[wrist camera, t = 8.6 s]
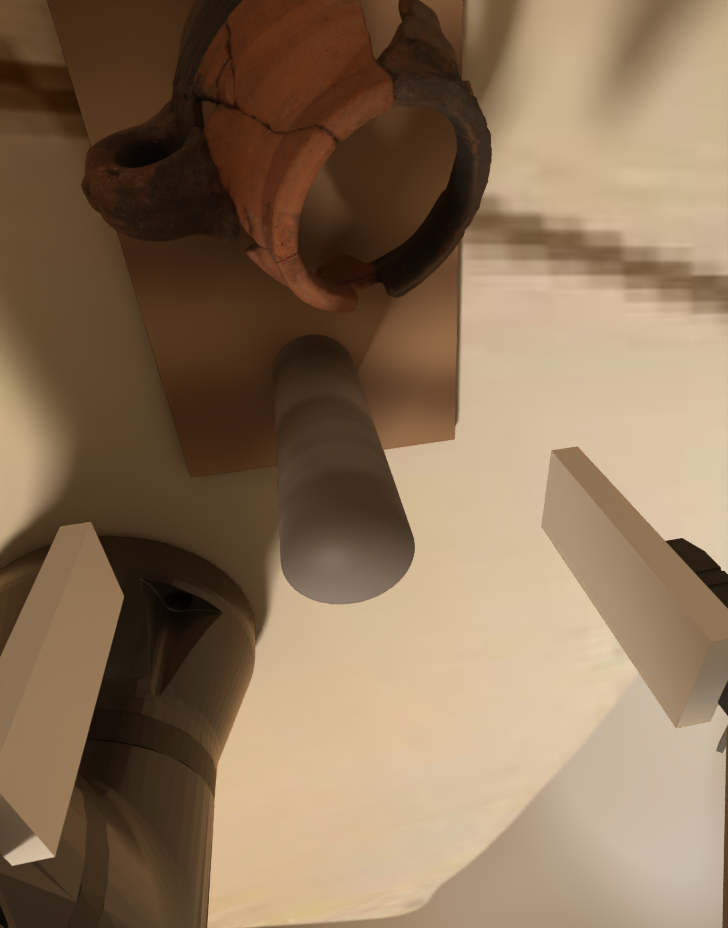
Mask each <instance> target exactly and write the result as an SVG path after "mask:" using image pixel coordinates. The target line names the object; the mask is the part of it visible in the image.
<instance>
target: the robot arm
mask: <svg viewBox="0 0 728 928" xmlns="http://www.w3.org/2000/svg"><path fill="white" fill-rule="evenodd" d="M541 527H542V528H543V530H544V531H545V533H546V534H547V536H548V537H549V539H550V540H551V542H552V543H553V545H554V546H555V548H556V549H557V551H558V552H559V554H560V555H561V557H562V558H563V560H564V561H565V563H566V564H567V566H568V567H569V569H570V570H571V572H572V573H573V575H574V576H575V578H576V579H577V581H578V582H579V584H580V585H581V587H582V588H583V590H584V591H585V593H586V594H587V596H588V597H589V599H590V600H591V602H592V603H593V605H594V606H595V608H596V609H597V611H598V612H599V614H600V615H601V617H602V618H603V620H604V621H605V623H606V624H607V626H608V627H609V629H610V630H611V632H612V633H613V635H614V636H615V638H616V639H617V641H618V642H619V644H620V645H621V647H622V648H623V650H624V651H625V653H626V654H627V656H628V657H629V659H630V660H631V662H632V663H633V665H634V666H635V668H636V669H637V671H638V672H639V674H640V675H641V677H642V678H643V680H644V681H645V682H646V684H647V686H648V687H649V688H650V690H651V692H652V693H653V695H654V696H655V697H656V699H657V700H658V702H659V703H660V705H661V706H662V708H663V710H664V711H665V712H666V714H667V715H668V717H669V718H670V720H671V721H672V723H673V724H674V726H675V727H676V728H681V727H685V726H690V725H695V724H700V723H705V722H710V721H711V719H712V717H713V715H714V712H715V710H716V708H717V706H718V704H719V705H720V706H721V708H722V709H723V710H724V712H725V713H726V714H727V715H728V574H727V573H726V572H725V571H721V567H720V566H719V565H718V564H717V563H716V562H715V561H714V560H713V559H712V558H711V557H710V556H709V555H708V554H707V553H706V552H705V551H703V550H702V549H700V548H698V547H697V546H695V545H693V544H691V543H690V542H688V541H686V540H685V539H683V538H680V539H674V540H669V541H665V540H664V539H663V538H662V537H661V536H660V535H659V534H658V533H657V532H656V531H655V530H654V529H653V527H652V526H651V525H650V524H649V523H648V522H647V521H646V520H645V519H644V518H643V517H642V516H641V515H640V513H639V512H638V511H637V510H636V509H635V508H634V507H633V506H632V505H631V504H630V503H629V502H628V500H627V499H626V498H625V497H624V496H623V495H622V494H621V493H620V492H619V491H618V490H617V489H616V488H615V486H614V485H613V484H612V483H611V482H610V481H609V480H608V479H607V478H606V477H605V476H604V475H603V473H602V472H601V471H600V470H599V469H598V468H597V467H596V466H595V465H594V464H593V463H592V462H591V460H590V459H589V458H588V457H587V456H586V455H585V454H584V453H583V452H582V451H581V450H580V449H579V448H578V447H571V448H565V449H558V450H552V451H551V458H550V465H549V473H548V480H547V488H546V495H545V503H544V511H543V518H542V526H541ZM255 632H256V628H255V620H254V615H253V612H252V609H251V607H250V605H249V602H248V601H247V599H246V597H245V596H244V594H243V593H242V591H241V590H240V589H239V588H238V586H237V585H236V584H235V583H234V582H233V581H232V580H231V579H230V578H229V577H228V576H227V575H225V574H224V573H223V572H222V571H220V570H219V569H218V568H216V567H215V566H213V565H212V564H210V563H209V562H207V561H205V560H203V559H201V558H200V557H198V556H195V555H193V554H191V553H189V552H186V551H184V550H181V549H179V548H175V547H172V546H169V545H166V544H162V543H158V542H153V541H148V540H142V539H136V538H125V537H97V534H96V532H95V530H94V528H93V525H92V523H91V522H86V523H79V524H73V525H67V526H60V528H59V530H58V532H57V534H56V537H55V539H54V541H53V543H52V545H49V546H46V547H43V548H40V549H38V550H35V551H33V552H31V553H29V554H26V555H24V556H22V557H21V558H19V559H17V560H15V561H14V562H12V563H11V564H9V565H8V566H7V567H5V568H4V569H3V570H2V571H0V928H207V921H208V904H209V887H210V871H211V854H212V837H213V821H214V799H215V785H216V775H217V765H218V761H219V759H220V756H221V754H222V751H223V749H224V746H225V744H226V741H227V739H228V736H229V734H230V731H231V728H232V726H233V723H234V721H235V718H236V716H237V713H238V711H239V708H240V706H241V703H242V701H243V698H244V696H245V693H246V691H247V688H248V686H249V683H250V680H251V678H252V674H253V669H254V664H255ZM725 747H726V788H725V834H724V882H723V886H724V887H723V928H728V726H727V728H726V730H725V732H724V734H723V736H722V738H721V740H720V742H719V745H718V747H717V751H718V752H721V753H723V751H724V749H725Z"/></svg>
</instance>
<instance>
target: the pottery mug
mask: <svg viewBox="0 0 728 928" xmlns="http://www.w3.org/2000/svg"><path fill="white" fill-rule="evenodd" d="M398 8H399V13H400V17H401V20H402V22H401V23H400V24H399V26H398V27H397V30H396V32H395V35H394V37H393V39H392V40H391V42H390V44H389V46H388V47H387V48H385V49H384V51H383V52H382V54H381V55H380V56H379V58H378V59H375V57H374V55H373V52H372V43H371V37H370V34H369V31H368V30H367V27H366V22H365V17H364V13H363V10H362V7H361V4H360V0H196V2H195V3H194V5H193V7H192V9H191V11H190V13H189V15H188V17H187V20H186V22H185V25H184V28H183V31H182V35H181V40H180V48H179V53H178V63H177V67H176V70H175V76H174V80H173V83H172V86H173V92H172V99H171V100H170V101H169V102H167V103H166V104H165V105H164V107H163V108H162V109H161V110H160V111H159V112H158V113H157V114H156V115H155V116H153V117H152V118H150V119H149V120H148V121H146V122H144V123H143V124H141V125H137V126H133V127H130V128H127V129H125V130H121V131H118V132H116V133H113V134H110V135H108V136H107V137H105V138H103V139H102V140H100V141H98V142H97V143H95V144H94V145H93V146H92V147H91V148H90V149H89V151H88V153H87V156H86V161H85V176H84V178H83V180H82V184H81V186H82V189H83V192H84V194H85V196H86V198H87V200H88V201H89V203H90V205H91V206H92V207H93V208H94V209H95V210H96V211H98V212H99V213H100V214H101V215H102V217H103V219H104V220H105V221H106V222H107V223H108V224H109V225H110V226H112V227H113V228H115V229H116V230H117V231H118V232H120V233H121V234H123V235H125V236H127V237H130V238H133V239H137V240H142V241H171V240H177V239H180V238H183V237H187V236H193V235H203V236H208V237H210V238H213V239H214V240H216V241H219V242H222V243H227V244H230V243H232V242H234V241H236V240H237V239H238V237H239V234H240V231H241V228H240V223H241V224H242V226H243V227H244V229H245V231H246V232H247V233H248V234H249V235H252V237H253V238H254V239H255V241H256V242H257V243H255V244H251V245H250V246H249V247H248V248H247V250H246V253H247V254H248V256H249V257H250V258H251V259H252V260H253V261H254V262H255V263H256V264H257V265H258V266H259V267H260V268H261V269H263V270H264V271H265V272H266V273H268V274H270V275H271V276H272V277H273V278H274V279H276V280H277V281H278V282H280V283H282V284H284V285H286V286H288V287H289V288H290V289H291V290H292V291H293V293H294V294H295V295H296V296H297V297H298V298H300V299H301V300H302V301H303V302H305V303H307V304H309V305H311V306H313V307H315V308H319V309H322V310H323V311H327V312H339V313H342V312H344V313H346V312H352V311H354V310H355V309H356V306H357V303H358V295H357V293H356V292H358V291H362V290H364V289H367V288H369V287H371V286H374V285H376V284H378V283H382V284H383V285H384V286H385V289H386V292H387V294H388V295H390V296H392V297H396V298H399V297H401V296H403V295H405V294H407V293H408V292H409V291H411V290H412V289H414V288H415V287H417V286H418V285H419V284H421V283H422V282H423V281H424V280H425V279H426V278H427V277H428V276H430V275H431V274H432V273H433V272H434V271H436V270H437V269H438V268H439V266H440V265H441V264H442V263H443V262H444V261H445V260H446V259H447V258H448V256H449V255H450V254H451V253H452V252H453V250H454V249H455V248H456V246H457V245H458V243H459V241H460V240H461V238H462V237H463V235H464V233H465V229H466V228H467V227H468V226H469V225H470V223H471V222H472V220H473V218H474V216H475V214H476V212H477V210H478V209H479V206H480V203H481V198H482V195H483V193H484V190H485V188H486V185H487V183H488V177H489V172H490V164H491V156H492V153H491V152H492V148H491V134H490V131H489V129H488V128H487V123H486V119H485V117H484V115H483V113H482V111H481V109H480V108H479V105H478V102H477V99H476V97H474V96H473V91H472V89H471V84H470V82H469V81H462V79H461V74H460V68H459V66H458V63H457V58H456V54H455V51H454V49H453V47H452V46H451V44H450V42H449V41H448V40H447V39H446V37H445V36H444V34H443V32H442V29H441V26H440V23H439V19H438V17H437V15H436V13H435V11H433V10H432V9H431V8H430V7H428V6H427V5H426V4H424V3H423V2H421V1H420V0H399V4H398ZM203 101H209V102H212V103H215V104H216V108H215V110H214V111H213V112H211V113H210V114H209V116H208V118H207V119H206V122H205V123H204V117H203V111H202V102H203ZM396 106H426V107H431V108H433V109H436V110H437V111H439V112H440V113H442V114H443V115H445V116H446V117H447V118H448V119H449V120H450V121H451V123H452V125H453V127H454V131H455V135H456V139H457V153H456V157H455V160H454V163H453V167H452V171H451V174H450V177H449V182H448V185H447V187H446V189H445V190H444V191H442V193H441V194H440V196H439V197H438V199H437V201H436V202H435V204H434V206H433V208H432V209H431V211H430V213H429V214H428V216H427V217H426V219H425V220H424V222H423V223H422V224H421V226H420V227H419V228H418V229H417V231H416V232H415V233H414V234H413V235H412V236H411V237H410V238H409V239H407V240H406V241H405V242H404V243H403V244H401V245H400V246H398V247H397V248H395V249H394V250H392V251H390V252H388V253H387V254H385V255H384V256H382V257H380V258H378V259H376V260H374V261H372V262H371V263H366V262H363V261H361V260H359V259H356V258H354V257H351V256H349V255H345V254H343V255H338V256H336V257H334V258H332V259H331V260H328V261H327V262H325V263H324V264H323V265H321V266H320V267H318V268H317V269H316V270H315V275H316V276H315V275H314V274H313V273H312V272H310V271H309V270H308V268H307V267H306V265H305V264H304V262H303V259H302V256H301V254H300V251H299V249H298V228H299V223H300V217H301V212H302V209H303V205H304V203H305V200H306V196H307V194H308V192H309V190H310V187H311V185H312V183H313V181H314V180H315V178H316V176H317V174H318V172H319V170H320V169H321V167H322V166H323V165H324V163H325V162H326V160H327V159H328V158H329V156H330V155H331V154H332V153H333V151H334V150H335V149H336V147H337V145H338V144H339V143H340V142H342V141H343V140H345V139H346V138H347V137H348V136H349V135H351V134H352V133H353V132H354V131H355V130H356V129H358V128H359V127H361V126H362V125H364V124H365V123H367V122H369V121H370V120H372V119H374V118H376V117H378V116H380V115H382V114H384V113H387V112H389V111H390V110H392V109H393V108H394V107H396Z"/></svg>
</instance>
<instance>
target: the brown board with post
mask: <svg viewBox="0 0 728 928" xmlns="http://www.w3.org/2000/svg"><path fill="white" fill-rule="evenodd" d="M47 1H48V5H49V8H50V11H51V15H52V18H53V21H54V25H55V28H56V31H57V34H58V38H59V41H60V44H61V48H62V51H63V54H64V58H65V61H66V64H67V68H68V71H69V74H70V78H71V81H72V84H73V88H74V91H75V94H76V98H77V101H78V104H79V107H80V111H81V114H82V117H83V121H84V124H85V127H86V131H87V134H88V137H89V141H90V144H91V147H92V146H93V145H94V144H95V143H97V142H98V141H100V140H102V139H103V138H105V137H107V136H108V135H110V134H113V133H116V132H118V131H121V130H125V129H127V128H130V127H133V126H137V125H141V124H143V123H144V122H146V121H148V120H149V119H150V118H152V117H153V116H155V115H156V114H157V113H158V112H159V111H160V110H161V109H162V108H163V107H164V105H165V104H166V103H167V102H169V101H170V100H171V99H172V92H173V86H172V83H173V80H174V76H175V70H176V67H177V63H178V53H179V48H180V40H181V35H182V31H183V28H184V25H185V22H186V20H187V17H188V15H189V13H190V11H191V9H192V7H193V5H194V3H195V2H196V0H47ZM420 1H421V2H423V3H424V4H426V5H427V6H428V7H430V8H431V9H432V10H433V11H435V13H436V15H437V17H438V19H439V23H440V26H441V29H442V32H443V34H444V36H445V37H446V39H447V40H448V41H449V42H450V44H451V46H452V47H453V49H454V51H455V54H456V58H457V63H458V66H459V68H460V74H461V77H462V23H463V0H420ZM360 4H361V7H362V10H363V13H364V17H365V22H366V27H367V30H368V31H369V34H370V37H371V43H372V52H373V55H374V57H375V59H378V58H379V56H380V55H381V54H382V52H383V51H384V49H385V48H387V47H388V46H389V44H390V42H391V40H392V39H393V37H394V35H395V32H396V30H397V27H398V26H399V24H400V23H401V22H402V20H401V17H400V13H399V8H398V4H399V0H360ZM215 108H216V104H215V103H212V102H209V101H203V102H202V111H203V117H204V123H205V122H206V119H207V118H208V116H209V114H210V113H211V112H213V111H214V110H215ZM456 153H457V139H456V135H455V131H454V127H453V125H452V123H451V121H450V120H449V119H448V118H447V117H446V116H445V115H443V114H442V113H440V112H439V111H437V110H436V109H433V108H431V107H426V106H396V107H394V108H393V109H392V110H390V111H389V112H387V113H384V114H382V115H380V116H378V117H376V118H374V119H372V120H370V121H369V122H367V123H365V124H364V125H362V126H361V127H359V128H358V129H356V130H355V131H354V132H353V133H352V134H351V135H349V136H348V137H347V138H346V139H345V140H343V141H342V142H340V143H339V144H338V145H337V147H336V149H335V150H334V151H333V153H332V154H331V155H330V156H329V158H328V159H327V160H326V162H325V163H324V165H323V166H322V167H321V169H320V170H319V172H318V174H317V176H316V178H315V180H314V181H313V183H312V185H311V187H310V190H309V192H308V194H307V196H306V200H305V203H304V205H303V209H302V212H301V217H300V223H299V228H298V249H299V251H300V254H301V256H302V259H303V262H304V264H305V265H306V267H307V268H308V270H309V271H310V272H312V273H313V274H314V275H315V270H316V269H317V268H318V267H320V266H321V265H323V264H324V263H325V262H327V261H328V260H331V259H332V258H334V257H336V256H338V255H343V254H345V255H349V256H351V257H354V258H356V259H359V260H361V261H363V262H366V263H371V262H372V261H374V260H376V259H378V258H380V257H382V256H384V255H385V254H387V253H388V252H390V251H392V250H394V249H395V248H397V247H398V246H400V245H401V244H403V243H404V242H405V241H406V240H407V239H409V238H410V237H411V236H412V235H413V234H414V233H415V232H416V231H417V229H418V228H419V227H420V226H421V224H422V223H423V222H424V220H425V219H426V217H427V216H428V214H429V213H430V211H431V209H432V208H433V206H434V204H435V202H436V201H437V199H438V197H439V196H440V194H441V193H442V191H444V190H445V189H446V187H447V185H448V182H449V177H450V174H451V171H452V167H453V163H454V160H455V157H456ZM240 228H241V231H240V234H239V237H238V239H237V240H236V241H234V242H232V243H230V244H227V243H222V242H219V241H216V240H214V239H213V238H210V237H208V236H203V235H193V236H187V237H183V238H180V239H177V240H171V241H142V240H137V239H133V238H130V237H127V236H125V235H123V234H121V233H120V232H118V231H117V234H118V237H119V240H120V244H121V247H122V250H123V254H124V257H125V260H126V264H127V267H128V270H129V273H130V277H131V280H132V283H133V287H134V290H135V293H136V297H137V300H138V303H139V307H140V310H141V313H142V317H143V320H144V323H145V327H146V330H147V333H148V337H149V340H150V343H151V346H152V350H153V353H154V356H155V360H156V363H157V366H158V370H159V373H160V376H161V380H162V383H163V386H164V390H165V393H166V396H167V400H168V403H169V406H170V410H171V413H172V416H173V420H174V423H175V426H176V429H177V433H178V436H179V439H180V443H181V446H182V449H183V453H184V456H185V459H186V463H187V466H188V469H189V473H190V476H191V478H192V477H199V476H206V475H213V474H219V473H226V472H233V471H240V470H247V469H254V468H261V467H268V466H274V465H277V481H278V506H279V531H280V555H281V567H282V571H283V574H284V576H285V578H286V580H287V581H288V582H289V584H290V585H291V586H292V587H293V588H294V589H295V590H296V591H298V592H299V593H300V594H302V595H304V596H306V597H307V598H310V599H312V600H315V601H318V602H322V603H328V604H351V603H357V602H362V601H365V600H369V599H371V598H374V597H376V596H378V595H380V594H382V593H384V592H386V591H387V590H389V589H390V588H392V587H393V586H394V585H395V584H397V583H398V582H399V581H400V580H401V579H402V577H403V576H404V575H405V574H406V572H407V571H408V569H409V567H410V565H411V563H412V560H413V557H414V551H415V544H414V538H413V535H412V532H411V529H410V526H409V523H408V520H407V517H406V514H405V511H404V508H403V505H402V503H401V500H400V497H399V494H398V491H397V488H396V485H395V482H394V479H393V476H392V474H391V471H390V468H389V465H388V462H387V459H386V456H385V453H384V450H385V449H391V448H398V447H405V446H412V445H419V444H426V443H433V442H440V441H447V440H453V439H455V401H456V347H457V293H458V245H457V246H456V248H455V249H454V250H453V252H452V253H451V254H450V255H449V256H448V258H447V259H446V260H445V261H444V262H443V263H442V264H441V265H440V266H439V268H438V269H437V270H436V271H434V272H433V273H432V274H431V275H430V276H428V277H427V278H426V279H425V280H424V281H423V282H422V283H421V284H419V285H418V286H417V287H415V288H414V289H412V290H411V291H409V292H408V293H407V294H405V295H403V296H401V297H399V298H396V297H392V296H390V295H388V294H387V292H386V289H385V286H384V285H383V284H382V283H378V284H376V285H374V286H371V287H369V288H367V289H364V290H362V291H358V292H356V293H357V295H358V303H357V306H356V309H355V310H354V311H352V312H346V313H344V312H342V313H339V312H327V311H323V310H322V309H319V308H315V307H313V306H311V305H309V304H307V303H305V302H303V301H302V300H301V299H300V298H298V297H297V296H296V295H295V294H294V293H293V291H292V290H291V289H290V288H289V287H288V286H286V285H284V284H282V283H280V282H278V281H277V280H276V279H274V278H273V277H272V276H271V275H270V274H268V273H266V272H265V271H264V270H263V269H261V268H260V267H259V266H258V265H257V264H256V263H255V262H254V261H253V260H252V259H251V258H250V257H249V256H248V254H247V253H246V250H247V248H248V247H249V246H250V245H251V244H255V243H257V242H256V241H255V239H254V238H253V237H252V235H249V234H248V233H247V232H246V231H245V229H244V227H243V226H242V224H241V223H240ZM315 276H316V275H315Z"/></svg>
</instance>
